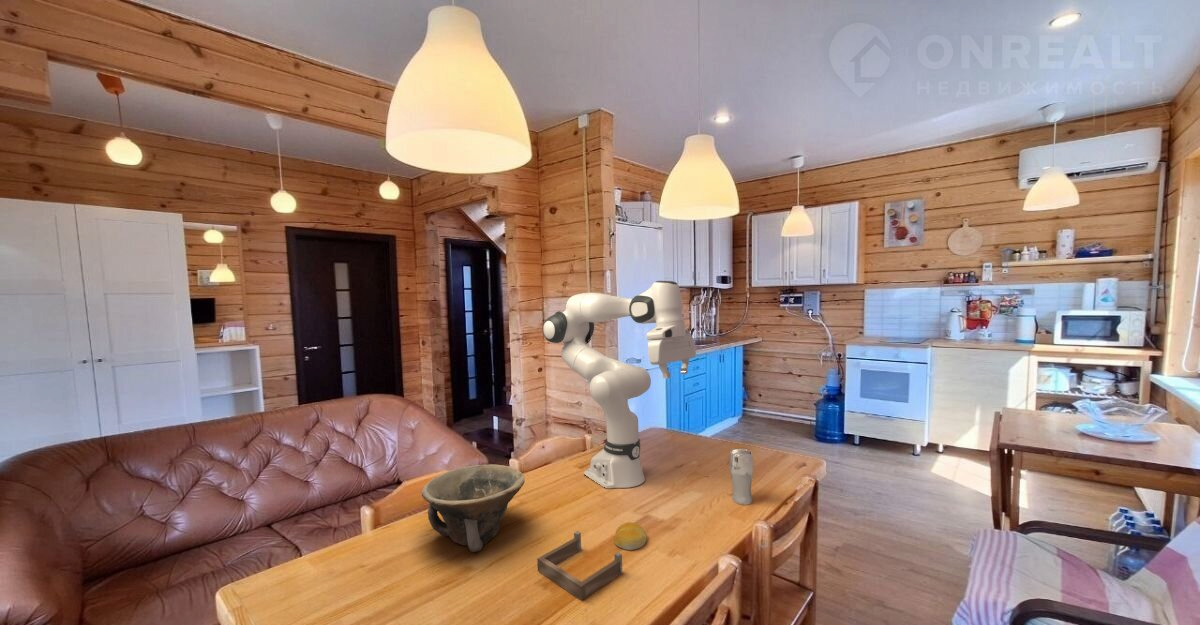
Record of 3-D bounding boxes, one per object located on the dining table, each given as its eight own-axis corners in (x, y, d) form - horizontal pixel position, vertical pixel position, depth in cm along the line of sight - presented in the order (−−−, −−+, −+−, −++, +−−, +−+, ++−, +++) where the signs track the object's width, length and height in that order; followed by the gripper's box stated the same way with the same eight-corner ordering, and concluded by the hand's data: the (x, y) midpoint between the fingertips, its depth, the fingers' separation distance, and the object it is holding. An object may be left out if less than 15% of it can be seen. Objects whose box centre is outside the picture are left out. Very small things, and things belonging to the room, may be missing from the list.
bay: (537, 570, 103) (536, 552, 103) (578, 547, 112) (577, 530, 112) (581, 600, 92) (580, 580, 92) (622, 572, 101) (621, 553, 101)
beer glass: (755, 506, 131) (754, 456, 131) (731, 504, 133) (730, 455, 132) (752, 496, 138) (751, 448, 138) (729, 494, 139) (728, 448, 139)
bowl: (494, 501, 140) (492, 455, 139) (545, 531, 121) (543, 477, 121) (408, 535, 121) (406, 481, 121) (453, 575, 102) (450, 512, 102)
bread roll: (612, 550, 111) (611, 535, 111) (617, 532, 120) (616, 517, 119) (645, 553, 109) (644, 537, 109) (647, 534, 118) (647, 519, 118)
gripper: (681, 330, 146) (686, 371, 146) (642, 334, 132) (647, 380, 131) (698, 328, 142) (702, 371, 141) (659, 333, 128) (664, 380, 127)
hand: (675, 375), depth 136 cm, fingers open, 8 cm apart
